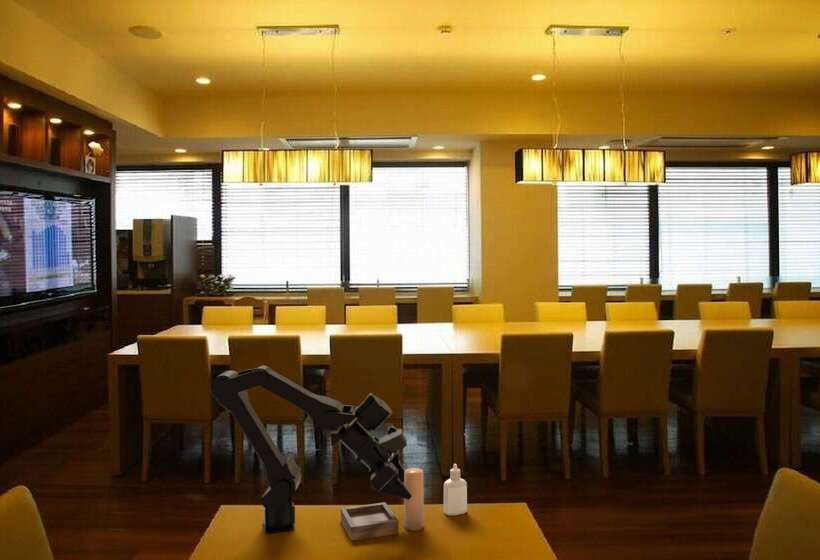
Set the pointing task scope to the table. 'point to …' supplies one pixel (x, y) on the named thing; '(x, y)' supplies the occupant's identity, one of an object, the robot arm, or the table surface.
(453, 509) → the eye dropper bottle
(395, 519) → the square wooden tray
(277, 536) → the table surface
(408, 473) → the peach tall rounded piece
